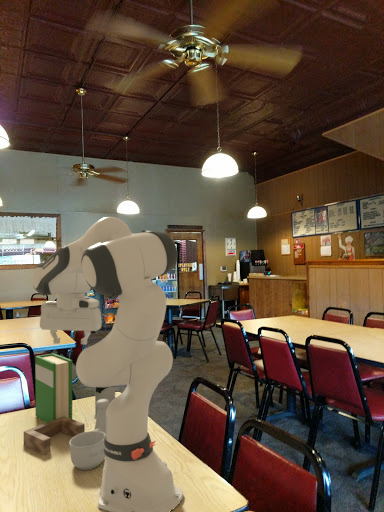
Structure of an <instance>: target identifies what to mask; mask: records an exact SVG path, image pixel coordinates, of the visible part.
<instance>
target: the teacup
mask: <svg viewBox="0 0 384 512" xmlns="http://www.w3.org/2000/svg"><path fill="white" fill-rule="evenodd" d="M105 436H106V434H105V433H104V432H101V430H100V429H95V428H94V430H89V431H85V432H84V433H81V434H78V435H76V436H74V437H71V439H70V440H69V443H68V444H69V452H70V453H69V454H70V460H71V463H72V464H73V466H74V467H76V468H77V469H80V470H84V471H85V470H86V471H87V470H91V469H94V468H97V467H98V466H99V465H101V463H102V462H103V461H105V456H106V455H105V453H104V438H105Z"/></svg>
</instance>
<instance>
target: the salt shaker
mask: <svg viewBox="0 0 384 512" xmlns="http://www.w3.org/2000/svg"><path fill="white" fill-rule="evenodd" d="M108 405H109V401H108V400H107V399H100V400H98V401H97V403H96V406H97V408H98V412H97V418H96V419H95V423H94V424H95V425H94V430H95V429H100V430H101V432H104V433H105V434H106V409H107V407H108Z"/></svg>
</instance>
